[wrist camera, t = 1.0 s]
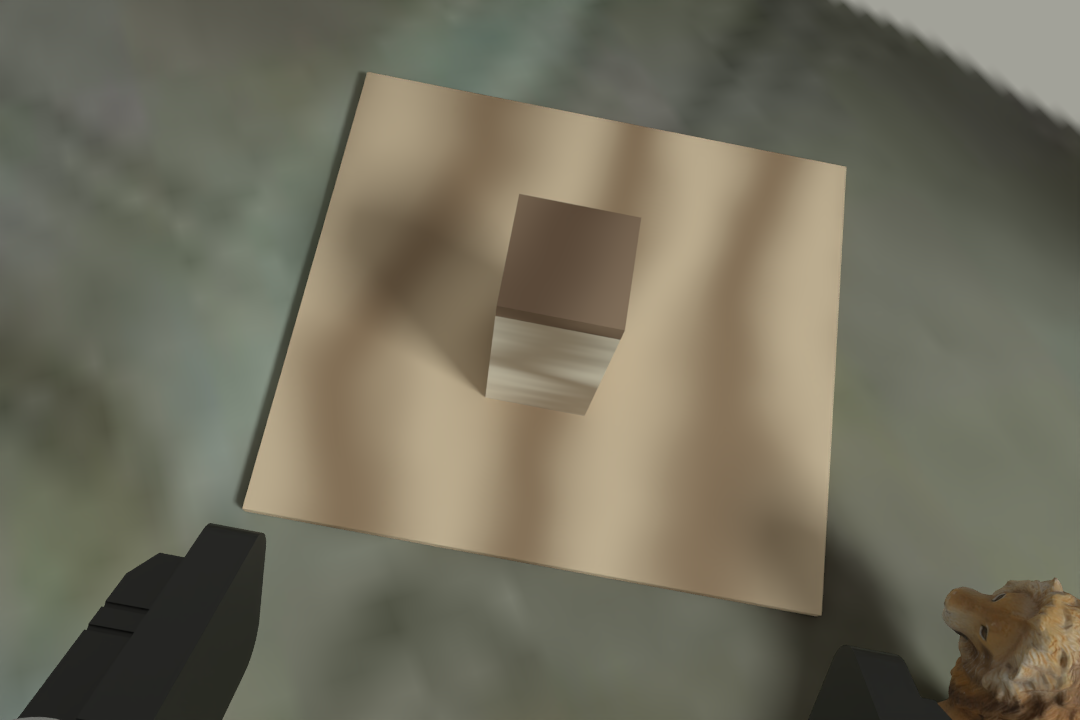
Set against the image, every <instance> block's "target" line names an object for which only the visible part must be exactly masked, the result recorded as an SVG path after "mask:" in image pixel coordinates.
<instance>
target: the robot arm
mask: <svg viewBox="0 0 1080 720" xmlns="http://www.w3.org/2000/svg"><path fill="white" fill-rule="evenodd" d="M265 551H266V537H265V534H264V533H260V532H255V531H249V530H244V529H239V528H234V527H228V526H223V525H218V524H212V523H210V524H208V525H207V526H206V527H205V528H204V529H203V531H202V532H201V534H200V535H199V537H198V538H197V540H196V541H195V543H194V544H193V545H192V547H191V548H190V550H189V551H188V553H187V554H186V556H185V557H179V556H174V555H169V554H163V553H159V554H157V555H155V556H154V557H152V558H150V559H149V560H147V561H146V562H144V563H142V564H141V565H139V566H138V567H136V568H134V569H133V570H131V571H130V572H128V573H126V575H125V576H124V577H123V579H122V580H121V581H120V583H119V584H118V585H117V587H116V588H115V589H114V591H113V592H112V593H111V595H110V596H109V597H108V599H107V600H106V602H105V606H104V607H101V608H100V609H99V611H98V612H97V613H96V615H95V616H94V617H93V619H92V620H91V621H90V623H89V625H88V628H87V630H84V631H83V632H82V633H81V635H80V636H79V637H78V639H77V640H76V641H75V643H74V644H73V645H72V647H71V648H70V649H69V651H68V652H67V653H66V655H65V656H64V657H63V659H62V660H61V661H60V663H59V664H58V665H57V667H56V668H55V669H54V671H53V672H52V673H51V675H50V676H49V677H48V679H47V680H46V681H45V683H44V684H43V685H42V687H41V688H40V689H39V691H38V692H37V693H36V695H35V696H34V697H33V699H32V700H31V701H30V703H29V704H28V705H27V707H26V708H25V709H24V711H23V712H22V713H21V715H20V716H19V717H18V718H17V719H14V720H222V719H223V717H224V715H225V712H226V710H227V708H228V706H229V704H230V702H231V700H232V698H233V696H234V694H235V692H236V690H237V687H238V685H239V683H240V681H241V679H242V677H243V675H244V673H245V671H246V668H247V666H248V663H249V661H250V658H251V655H252V652H253V648H254V645H255V641H256V636H257V631H258V625H259V617H260V606H261V595H262V584H263V573H264V562H265ZM808 720H952V719H951V718H950V717H949V716H948V714H947V713H946V712H945V711H944V710H943V709H942V708H941V707H940V706H939V705H938V703H937V702H936V701H935V700H931V699H925V698H921V697H920V695H919V693H918V690H917V688H916V686H915V684H914V681H913V679H912V677H911V675H910V673H909V670H908V668H907V666H906V664H905V662H904V660H903V659H902V658H901V657H900V656H899V655H895V654H890V653H885V652H880V651H874V650H869V649H864V648H859V647H853V646H848V645H844V646H842V647H840V648H839V649H838V651H837V652H836V654H835V656H834V658H833V661H832V663H831V666H830V668H829V670H828V673H827V675H826V678H825V680H824V683H823V685H822V688H821V690H820V692H819V695H818V697H817V700H816V702H815V705H814V707H813V710H812V712H811V714H810V717H809V719H808Z"/></svg>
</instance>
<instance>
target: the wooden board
mask: <svg viewBox="0 0 1080 720" xmlns="http://www.w3.org/2000/svg"><path fill="white" fill-rule="evenodd" d="M845 182H846V167H844V166H839V165H834V164H829V163H824V162H819V161H814V160H809V159H804V158H799V157H794V156H789V155H784V154H779V153H774V152H769V151H764V150H758V149H753V148H748V147H743V146H738V145H733V144H728V143H723V142H718V141H713V140H708V139H703V138H698V137H693V136H688V135H683V134H678V133H673V132H668V131H663V130H658V129H653V128H648V127H643V126H638V125H633V124H627V123H622V122H617V121H612V120H607V119H602V118H597V117H592V116H587V115H582V114H577V113H572V112H567V111H562V110H557V109H552V108H547V107H542V106H537V105H532V104H527V103H522V102H517V101H512V100H507V99H501V98H496V97H491V96H486V95H481V94H476V93H471V92H466V91H461V90H456V89H451V88H446V87H441V86H436V85H431V84H426V83H421V82H416V81H411V80H406V79H401V78H396V77H391V76H386V75H381V74H375V73H370V72H367V75H366V79H365V82H364V86H363V89H362V93H361V96H360V100H359V103H358V107H357V110H356V113H355V117H354V120H353V124H352V127H351V131H350V134H349V138H348V141H347V145H346V148H345V152H344V155H343V159H342V162H341V166H340V169H339V173H338V176H337V180H336V183H335V187H334V190H333V194H332V197H331V201H330V204H329V208H328V211H327V215H326V218H325V222H324V225H323V229H322V232H321V236H320V239H319V243H318V246H317V250H316V253H315V257H314V260H313V264H312V267H311V270H310V274H309V277H308V281H307V284H306V288H305V291H304V295H303V298H302V302H301V305H300V309H299V312H298V316H297V319H296V323H295V326H294V330H293V333H292V337H291V340H290V344H289V347H288V351H287V354H286V358H285V361H284V365H283V368H282V372H281V375H280V379H279V382H278V386H277V389H276V393H275V396H274V400H273V403H272V407H271V410H270V414H269V417H268V420H267V424H266V427H265V431H264V434H263V438H262V441H261V445H260V448H259V452H258V455H257V459H256V462H255V466H254V469H253V473H252V476H251V480H250V483H249V487H248V490H247V494H246V497H245V501H244V504H243V508H242V509H243V510H244V511H246V512H252V513H257V514H263V515H268V516H273V517H279V518H284V519H290V520H295V521H301V522H306V523H311V524H317V525H322V526H328V527H333V528H339V529H344V530H349V531H355V532H360V533H366V534H371V535H377V536H382V537H387V538H393V539H398V540H404V541H409V542H414V543H420V544H425V545H431V546H436V547H442V548H447V549H452V550H458V551H463V552H469V553H474V554H480V555H485V556H490V557H496V558H501V559H507V560H512V561H518V562H523V563H528V564H534V565H539V566H545V567H550V568H556V569H561V570H566V571H572V572H577V573H583V574H588V575H593V576H599V577H604V578H610V579H615V580H621V581H626V582H631V583H637V584H642V585H648V586H653V587H659V588H664V589H669V590H675V591H680V592H686V593H691V594H697V595H702V596H707V597H713V598H718V599H724V600H729V601H735V602H740V603H745V604H751V605H756V606H762V607H767V608H772V609H778V610H783V611H789V612H794V613H800V614H805V615H810V616H816V617H817V616H821V615H822V599H823V581H824V563H825V545H826V526H827V508H828V490H829V472H830V454H831V436H832V418H833V400H834V382H835V363H836V345H837V327H838V309H839V291H840V273H841V255H842V237H843V219H844V201H845ZM519 194H523V195H528V196H533V197H539V198H544V199H549V200H554V201H559V202H564V203H569V204H574V205H579V206H585V207H590V208H595V209H600V210H605V211H610V212H615V213H620V214H625V215H631V216H636V217H641V223H640V230H639V237H638V244H637V251H636V258H635V265H634V271H633V278H632V285H631V292H630V299H629V306H628V313H627V320H626V326H625V331H624V333H623V335H622V338H621V340H620V342H619V344H618V346H617V348H616V350H615V352H614V355H613V357H612V359H611V361H610V363H609V365H608V367H607V369H606V372H605V374H604V376H603V378H602V380H601V382H600V384H599V387H598V389H597V391H596V393H595V395H594V397H593V399H592V401H591V404H590V406H589V408H588V410H587V412H586V414H585V416H581V415H575V414H570V413H565V412H560V411H554V410H549V409H544V408H538V407H533V406H528V405H523V404H517V403H512V402H507V401H501V400H496V399H491V398H486V397H485V396H486V388H487V379H488V371H489V363H490V355H491V347H492V339H493V331H494V323H495V315H496V307H497V301H498V296H499V291H500V286H501V282H502V277H503V272H504V267H505V262H506V257H507V252H508V247H509V242H510V237H511V232H512V227H513V222H514V217H515V212H516V207H517V202H518V197H519Z"/></svg>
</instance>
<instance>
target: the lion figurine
mask: <svg viewBox="0 0 1080 720" xmlns="http://www.w3.org/2000/svg"><path fill="white" fill-rule="evenodd" d="M944 604H945V608H944V610H943V615H942V616H943V619H944V621H945V623H946V624H947V625H948V626H949V627H950V628H952V629H953V630H954V631H955V632H956V633H957V634H959V635H960V640H959V650H960V653H961V657H959V658H958V660H957V662H956V666H955V667H954V668H953V669H952V670H951V672H950V673H951V675H952V678H951V681H950V685H949V691H948V692H949V698H948V699H947V700H944V701H942V702H939V703H938V705H939V706H940V707H941V708H942V709H943V710H944V711H945V712H946V713H947V714H948V716H949V717H950V718H951V719H952V720H1080V600H1079V599H1077V598H1076V597H1074V596H1073V595H1071V594H1069V593H1066V592H1064V591H1063V589H1062V585H1061V583H1060V581H1059V580H1058V579H1057V578H1054V579H1053V580H1049V581H1044V582H1040V581H1038V580H1035V581H1029V580H1025V581H1014V580H1010V581H1008V582H1007V584H1006V585H1005V586H1003V587H1002V588H1001V589H999V590H997V591H995V592H994V593H993V595H986V594H981V593H979V592H978V591H976V590H974V589H971V588H967V587H960V588H956V589H953V590H952V591H951V592H950V593H949V594H948V595H947V597H946V599H945V602H944Z"/></svg>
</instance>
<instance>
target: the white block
mask: <svg viewBox="0 0 1080 720" xmlns="http://www.w3.org/2000/svg"><path fill="white" fill-rule="evenodd" d="M640 223H641V217H636V216H631V215H625V214H620V213H615V212H610V211H605V210H600V209H595V208H590V207H585V206H579V205H574V204H569V203H564V202H559V201H554V200H549V199H544V198H539V197H533V196H528V195H523V194H519V197H518V202H517V207H516V212H515V217H514V222H513V227H512V232H511V237H510V242H509V247H508V252H507V257H506V262H505V267H504V272H503V277H502V282H501V286H500V291H499V296H498V301H497V307H496V315H495V323H494V331H493V339H492V347H491V355H490V363H489V371H488V379H487V388H486V396H485V397H486V398H491V399H496V400H501V401H507V402H512V403H517V404H523V405H528V406H533V407H538V408H544V409H549V410H554V411H560V412H565V413H570V414H575V415H581V416H585V414H586V412H587V410H588V408H589V406H590V404H591V401H592V399H593V397H594V395H595V393H596V391H597V389H598V387H599V384H600V382H601V380H602V378H603V376H604V374H605V372H606V369H607V367H608V365H609V363H610V361H611V359H612V357H613V355H614V352H615V350H616V348H617V346H618V344H619V342H620V340H621V338H622V335H623V333H624V331H625V326H626V320H627V313H628V306H629V299H630V292H631V285H632V278H633V271H634V265H635V258H636V251H637V244H638V237H639V230H640Z"/></svg>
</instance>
